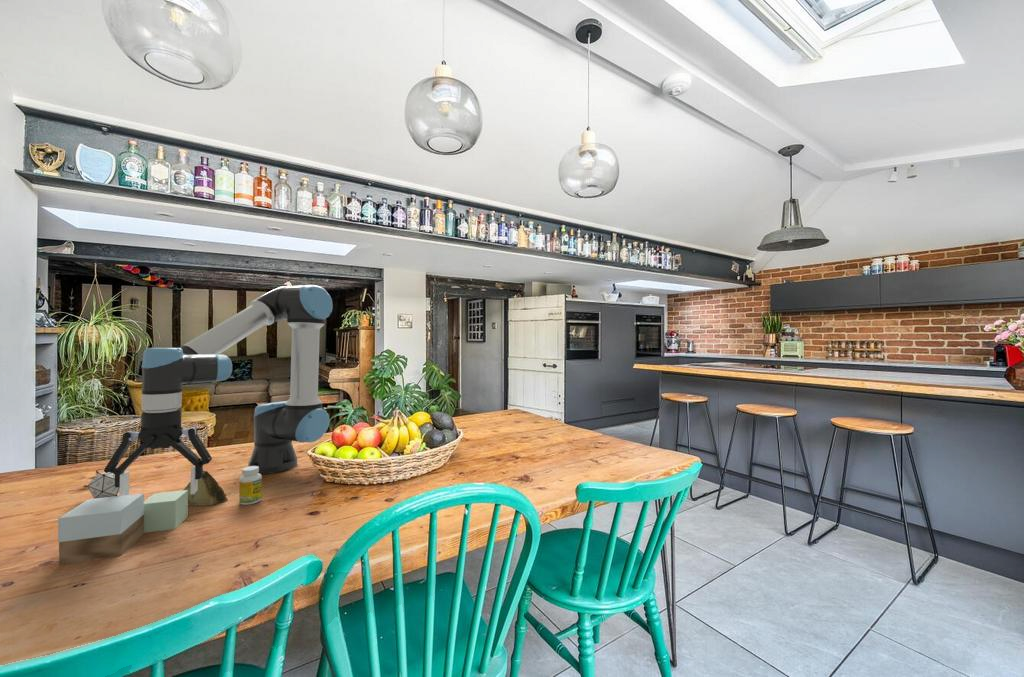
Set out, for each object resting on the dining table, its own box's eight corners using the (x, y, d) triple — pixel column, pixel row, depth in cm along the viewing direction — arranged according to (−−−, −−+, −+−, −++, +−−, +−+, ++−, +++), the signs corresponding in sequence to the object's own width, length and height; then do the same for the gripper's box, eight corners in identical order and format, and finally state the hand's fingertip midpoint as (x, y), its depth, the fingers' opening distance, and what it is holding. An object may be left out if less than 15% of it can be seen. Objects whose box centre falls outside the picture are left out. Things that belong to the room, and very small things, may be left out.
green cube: (187, 516, 105) (187, 490, 105) (175, 529, 98) (175, 500, 98) (154, 520, 102) (154, 493, 102) (139, 533, 96) (139, 504, 96)
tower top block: (143, 514, 95) (143, 493, 95) (120, 534, 86) (120, 510, 86) (88, 520, 92) (88, 499, 92) (58, 542, 82) (58, 518, 82)
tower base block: (143, 534, 96) (143, 514, 96) (121, 556, 86) (121, 533, 86) (88, 542, 92) (88, 521, 92) (59, 566, 83) (59, 542, 82)
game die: (97, 512, 115) (75, 484, 115) (133, 491, 122) (113, 465, 122) (100, 504, 110) (77, 475, 109) (137, 483, 117) (116, 456, 116)
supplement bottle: (246, 497, 117) (247, 464, 117) (265, 497, 117) (265, 464, 117) (234, 505, 112) (234, 471, 111) (254, 505, 112) (254, 471, 112)
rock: (164, 499, 110) (183, 501, 105) (185, 468, 115) (204, 469, 110) (202, 511, 117) (221, 513, 113) (219, 482, 122) (239, 483, 118)
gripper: (226, 405, 108) (224, 484, 107) (103, 410, 98) (101, 497, 97) (218, 409, 101) (217, 494, 101) (85, 415, 91) (83, 509, 91)
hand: (160, 496), depth 99 cm, fingers open, 13 cm apart
